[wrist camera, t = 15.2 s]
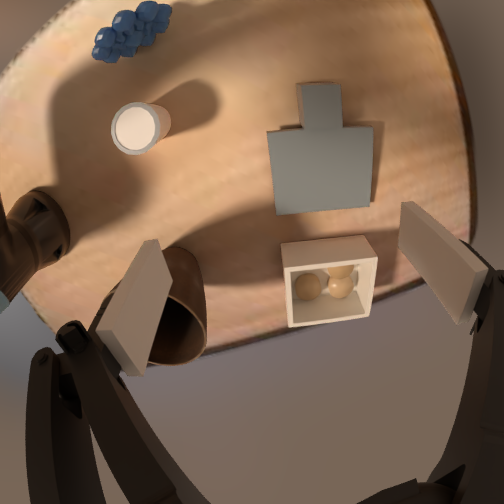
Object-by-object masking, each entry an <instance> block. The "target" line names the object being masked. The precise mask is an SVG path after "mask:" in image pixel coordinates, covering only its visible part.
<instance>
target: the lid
mask: <svg viewBox="0 0 504 504" xmlns="http://www.w3.org/2000/svg"><path fill="white" fill-rule="evenodd" d="M296 88H297V98H298V108H299V118H300V124H301V125H302V128H297V129H285V130H275V131H267V139H268V147H269V155H270V164H271V172H272V181H273V190H274V199H275V208H276V216H277V215H287V214H296V213H306V212H316V211H326V210H337V209H348V208H360V207H370V195H371V181H372V162H373V127H372V126H343V120H342V99H341V85H340V84H336V83H333V82H320V83H296Z"/></svg>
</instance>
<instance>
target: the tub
mask: <svg viewBox="0 0 504 504" xmlns="http://www.w3.org/2000/svg"><path fill="white" fill-rule="evenodd" d="M281 255H282V266H283V278H284V290H285V302H286V310H287V318H288V326H289V327H297V326H305V325H314V324H321V323H329V322H336V321H343V320H349V319H356V318H361V317H368V316H369V314H370V308H371V302H372V296H373V290H374V283H375V276H376V269H377V261H378V256H377V255H376V253H375V252H374V250H373V249H372V247H371V246H370V244H369V243H368V241H367V240H366V238H365V237H364V235H356V236H347V237H337V238H328V239H318V240H309V241H299V242H290V243H281Z"/></svg>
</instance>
